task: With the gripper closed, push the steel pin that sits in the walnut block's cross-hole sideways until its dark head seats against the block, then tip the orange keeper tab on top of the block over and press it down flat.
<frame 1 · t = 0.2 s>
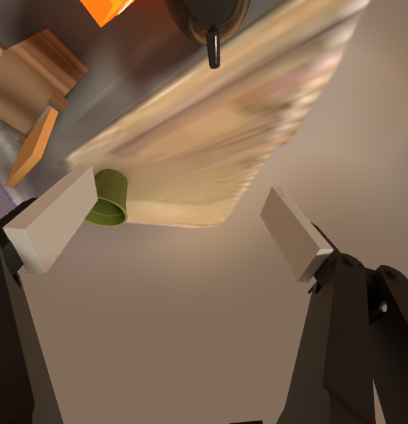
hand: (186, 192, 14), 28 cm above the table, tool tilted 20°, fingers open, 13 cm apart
keeper tab: (33, 143, 25), point 15 cm above the table, hinge at 100.0°
plant pot: (113, 178, 51), on the table
hitch block: (53, 72, 31), on the table
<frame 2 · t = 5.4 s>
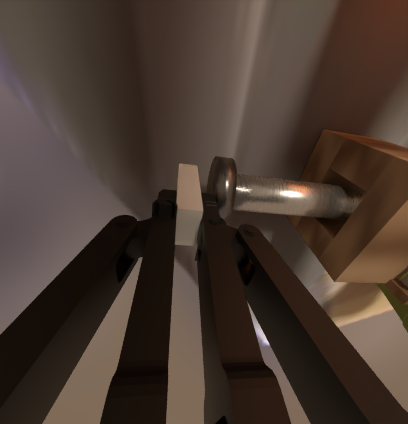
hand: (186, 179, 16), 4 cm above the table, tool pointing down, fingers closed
plant pot: (388, 260, 33), on the table
pin: (305, 199, 17), point 6 cm above the table, slide at -9.4 cm, touching gripper
hitch block: (324, 178, 22), on the table
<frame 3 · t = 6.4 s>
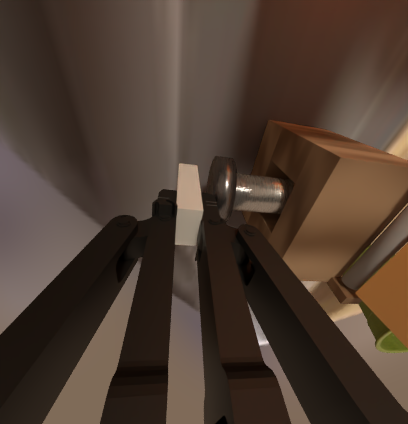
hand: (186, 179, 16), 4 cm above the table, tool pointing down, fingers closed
plant pot: (359, 258, 32), on the table
pin: (305, 199, 17), point 6 cm above the table, slide at -3.6 cm, touching gripper
hitch block: (277, 172, 21), on the table
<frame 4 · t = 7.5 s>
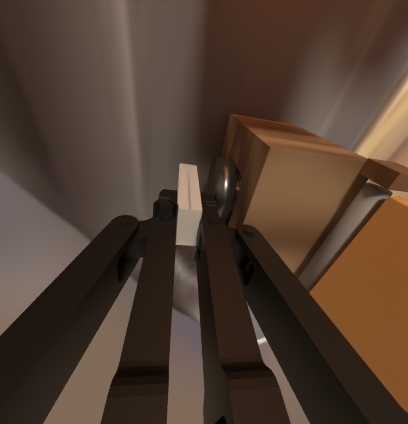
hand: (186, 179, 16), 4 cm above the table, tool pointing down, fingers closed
keeper tab: (406, 310, 9), point 15 cm above the table, hinge at 100.0°
pin: (304, 199, 17), point 6 cm above the table, slide at 0.1 cm, touching gripper
hitch block: (246, 169, 20), on the table
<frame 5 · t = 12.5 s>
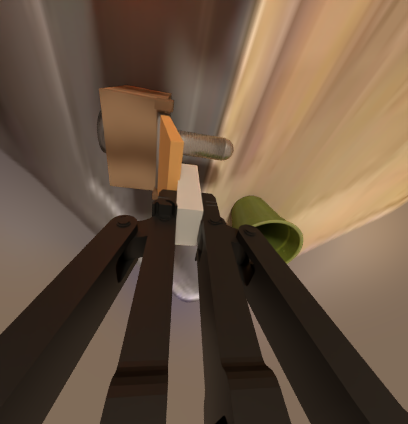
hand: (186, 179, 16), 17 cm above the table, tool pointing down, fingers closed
keeper tab: (165, 170, 17), point 15 cm above the table, hinge at 100.0°, touching gripper
plant pot: (247, 209, 40), on the table
pin: (172, 141, 25), point 5 cm above the table, slide at 0.0 cm
hitch block: (149, 127, 29), on the table
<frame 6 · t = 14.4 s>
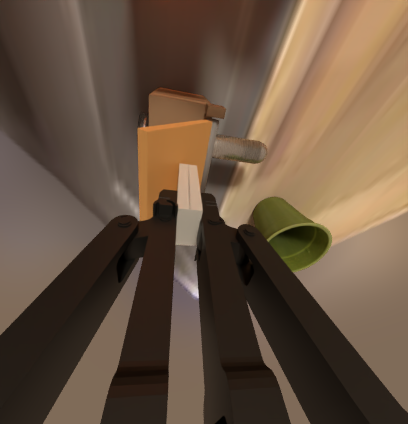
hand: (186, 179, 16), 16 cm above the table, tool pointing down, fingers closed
keeper tab: (182, 170, 17), point 14 cm above the table, hinge at 53.7°, touching gripper
plant pot: (268, 210, 40), on the table
pin: (207, 145, 25), point 5 cm above the table, slide at 0.0 cm
hitch block: (178, 130, 29), on the table
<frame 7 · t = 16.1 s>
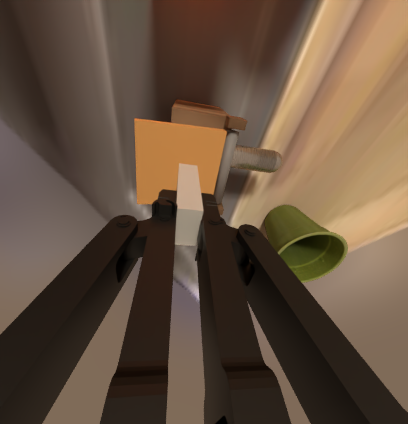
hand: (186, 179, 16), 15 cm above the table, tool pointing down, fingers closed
keeper tab: (186, 168, 19), point 12 cm above the table, hinge at 12.0°
plant pot: (280, 218, 40), on the table
pin: (223, 154, 25), point 5 cm above the table, slide at 0.0 cm
hitch block: (193, 140, 29), on the table
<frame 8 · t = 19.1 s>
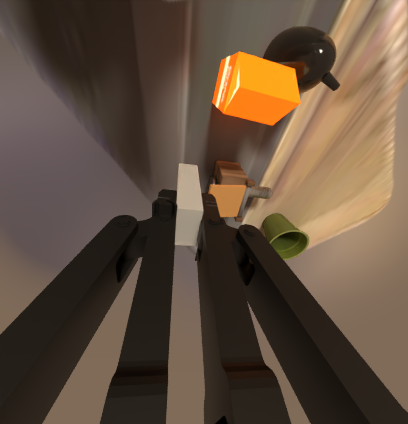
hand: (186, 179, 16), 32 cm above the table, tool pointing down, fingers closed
keeper tab: (227, 201, 43), point 12 cm above the table, hinge at 12.0°
plant pot: (272, 221, 63), on the table
pin: (241, 190, 49), point 6 cm above the table, slide at 0.0 cm
pump dispenser: (279, 66, 39), on the table
hitch block: (223, 179, 52), on the table
orange juice: (236, 87, 41), on the table
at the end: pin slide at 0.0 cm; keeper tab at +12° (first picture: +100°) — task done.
